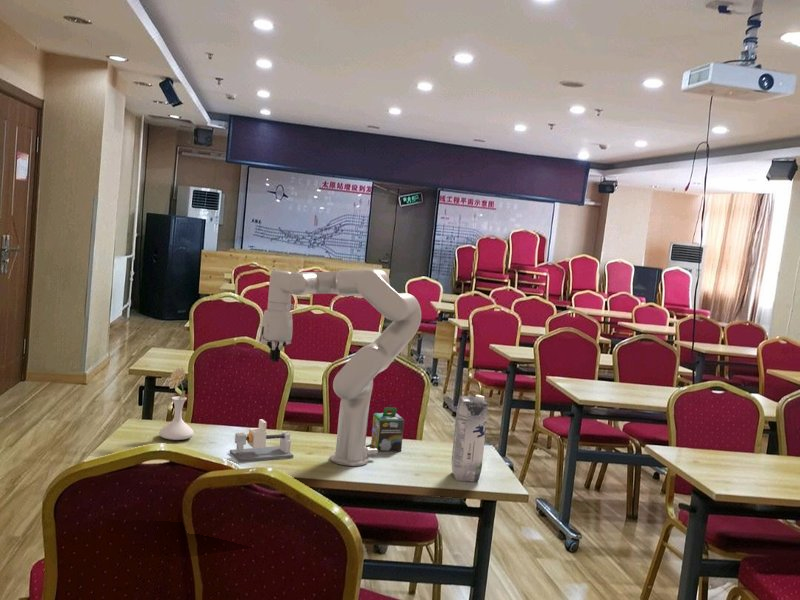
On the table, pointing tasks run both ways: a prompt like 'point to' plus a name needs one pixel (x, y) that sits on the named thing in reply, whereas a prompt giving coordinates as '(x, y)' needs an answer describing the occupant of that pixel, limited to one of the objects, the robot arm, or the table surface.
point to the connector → (240, 442)
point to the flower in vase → (177, 411)
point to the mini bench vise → (266, 451)
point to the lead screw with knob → (250, 437)
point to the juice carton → (469, 438)
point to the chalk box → (387, 430)
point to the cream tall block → (259, 435)
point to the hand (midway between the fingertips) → (274, 361)
